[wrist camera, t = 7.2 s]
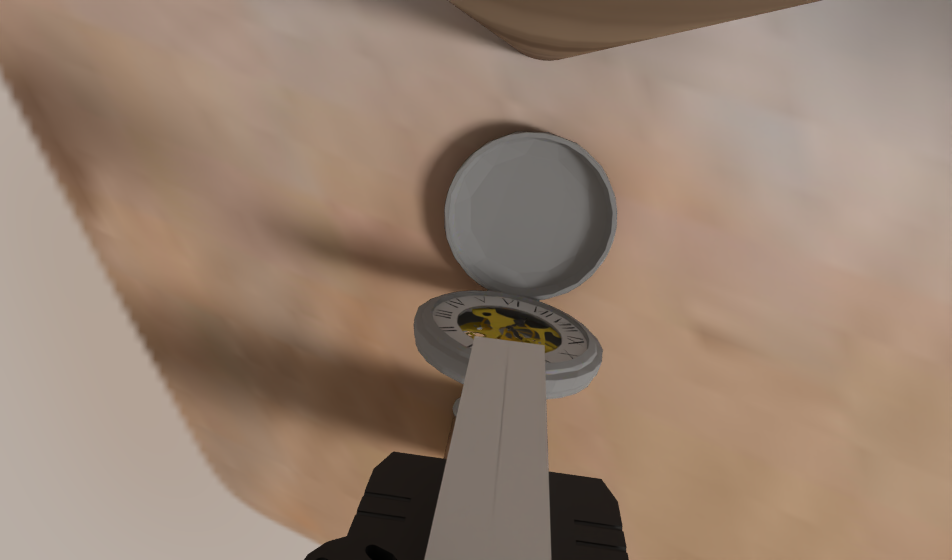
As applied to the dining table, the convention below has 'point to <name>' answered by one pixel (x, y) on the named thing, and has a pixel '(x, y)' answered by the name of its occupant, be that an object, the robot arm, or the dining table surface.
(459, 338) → the pocket watch
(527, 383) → the robot arm
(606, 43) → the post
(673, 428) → the dining table surface
